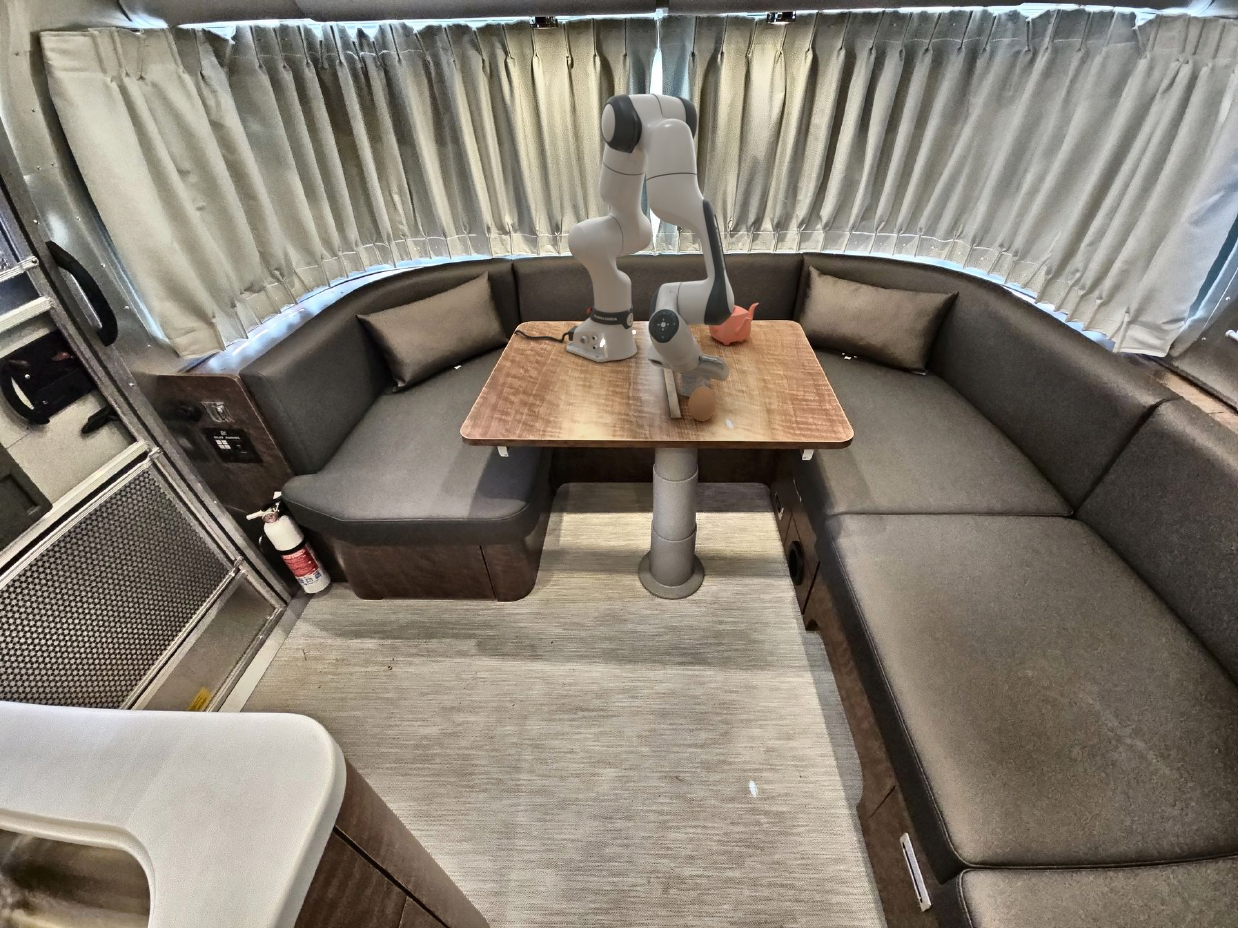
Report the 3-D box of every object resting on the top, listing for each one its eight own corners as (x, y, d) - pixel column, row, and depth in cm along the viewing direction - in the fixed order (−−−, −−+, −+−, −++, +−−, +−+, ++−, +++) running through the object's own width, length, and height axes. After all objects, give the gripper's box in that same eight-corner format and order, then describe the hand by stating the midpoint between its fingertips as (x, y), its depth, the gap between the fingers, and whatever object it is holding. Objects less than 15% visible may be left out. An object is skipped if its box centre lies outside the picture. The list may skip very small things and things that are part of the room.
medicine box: (695, 399, 140) (697, 369, 135) (680, 395, 142) (681, 365, 137) (707, 387, 145) (710, 357, 140) (693, 383, 147) (695, 354, 142)
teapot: (754, 333, 175) (759, 300, 169) (747, 350, 164) (751, 316, 158) (711, 328, 179) (714, 296, 173) (701, 344, 169) (703, 310, 162)
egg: (699, 410, 135) (701, 377, 130) (720, 419, 131) (723, 386, 126) (681, 419, 131) (683, 386, 126) (702, 429, 127) (705, 395, 122)
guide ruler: (671, 418, 132) (671, 417, 132) (663, 369, 155) (663, 368, 155) (681, 418, 132) (681, 417, 132) (671, 369, 155) (671, 368, 155)
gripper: (727, 349, 125) (737, 371, 137) (649, 334, 133) (665, 356, 146) (718, 374, 124) (729, 394, 137) (641, 357, 133) (658, 377, 145)
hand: (695, 374), depth 141 cm, fingers open, 6 cm apart
